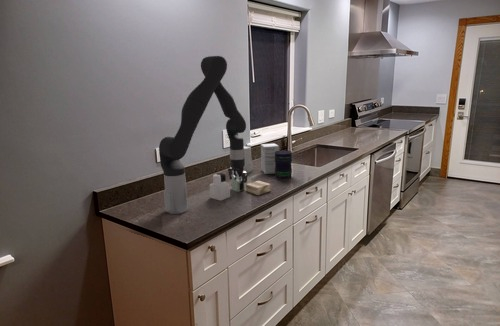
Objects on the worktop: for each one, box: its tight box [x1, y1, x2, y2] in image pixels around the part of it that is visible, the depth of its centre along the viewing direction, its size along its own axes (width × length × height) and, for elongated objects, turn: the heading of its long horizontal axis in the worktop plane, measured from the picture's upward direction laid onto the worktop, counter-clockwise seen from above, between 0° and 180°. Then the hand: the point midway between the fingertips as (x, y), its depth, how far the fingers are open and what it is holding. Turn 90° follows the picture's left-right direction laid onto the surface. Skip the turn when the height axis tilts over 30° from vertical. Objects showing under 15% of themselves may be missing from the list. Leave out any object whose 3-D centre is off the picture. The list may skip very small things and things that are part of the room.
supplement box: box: [260, 143, 280, 175], centre depth 215 cm, size 10×9×17 cm
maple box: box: [245, 180, 272, 196], centre depth 182 cm, size 9×9×4 cm
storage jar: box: [274, 149, 293, 181], centre depth 203 cm, size 10×10×15 cm
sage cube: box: [230, 178, 246, 192], centre depth 185 cm, size 5×5×5 cm
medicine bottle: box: [209, 172, 231, 202], centre depth 173 cm, size 7×7×12 cm
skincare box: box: [243, 145, 253, 174], centre depth 217 cm, size 8×7×16 cm
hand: (238, 188), depth 185 cm, fingers closed on sage cube, 5 cm apart
